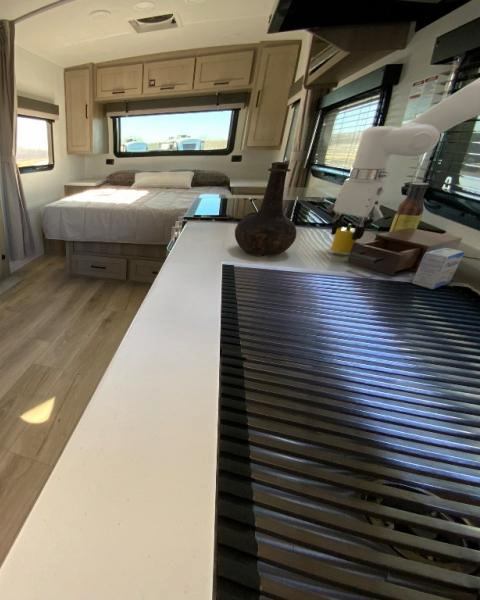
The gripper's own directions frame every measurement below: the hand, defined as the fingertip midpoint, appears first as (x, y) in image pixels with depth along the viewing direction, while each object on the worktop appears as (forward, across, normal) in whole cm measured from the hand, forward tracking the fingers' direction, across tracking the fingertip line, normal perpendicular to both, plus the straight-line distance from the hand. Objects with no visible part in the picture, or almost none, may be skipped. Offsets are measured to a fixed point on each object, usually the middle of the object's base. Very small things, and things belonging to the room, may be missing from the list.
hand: (345, 235), depth 103 cm
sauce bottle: (+6, -2, -25) cm, 26 cm away
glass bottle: (+7, +13, +19) cm, 24 cm away
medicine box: (+6, -24, +2) cm, 25 cm away
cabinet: (+6, -12, -12) cm, 18 cm away
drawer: (+5, -12, +1) cm, 13 cm away
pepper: (+5, 0, 0) cm, 5 cm away
